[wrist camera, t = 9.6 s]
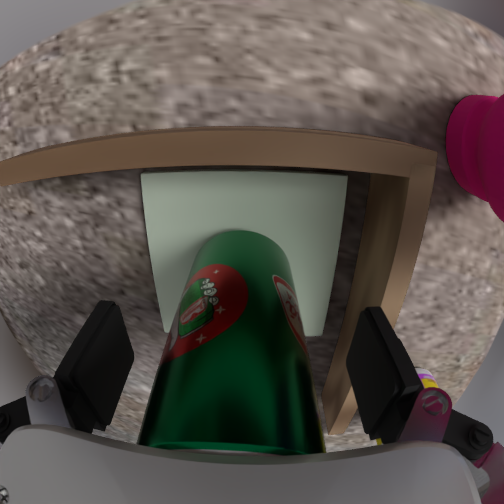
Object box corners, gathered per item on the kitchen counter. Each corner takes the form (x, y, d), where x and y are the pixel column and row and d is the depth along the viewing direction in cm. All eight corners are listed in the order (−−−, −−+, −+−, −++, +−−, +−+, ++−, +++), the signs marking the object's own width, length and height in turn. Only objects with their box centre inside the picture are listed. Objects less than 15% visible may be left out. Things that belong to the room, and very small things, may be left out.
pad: (320, 330, 18) (321, 335, 18) (166, 327, 18) (164, 332, 18) (345, 174, 14) (348, 176, 13) (144, 171, 14) (140, 173, 13)
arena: (334, 394, 21) (343, 433, 18) (111, 383, 21) (97, 418, 18) (394, 139, 13) (438, 152, 9) (43, 147, 13) (-3, 162, 9)
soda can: (286, 308, 17) (312, 522, 6) (198, 307, 17) (155, 517, 6) (292, 225, 14) (363, 482, 4) (190, 225, 14) (88, 468, 4)
